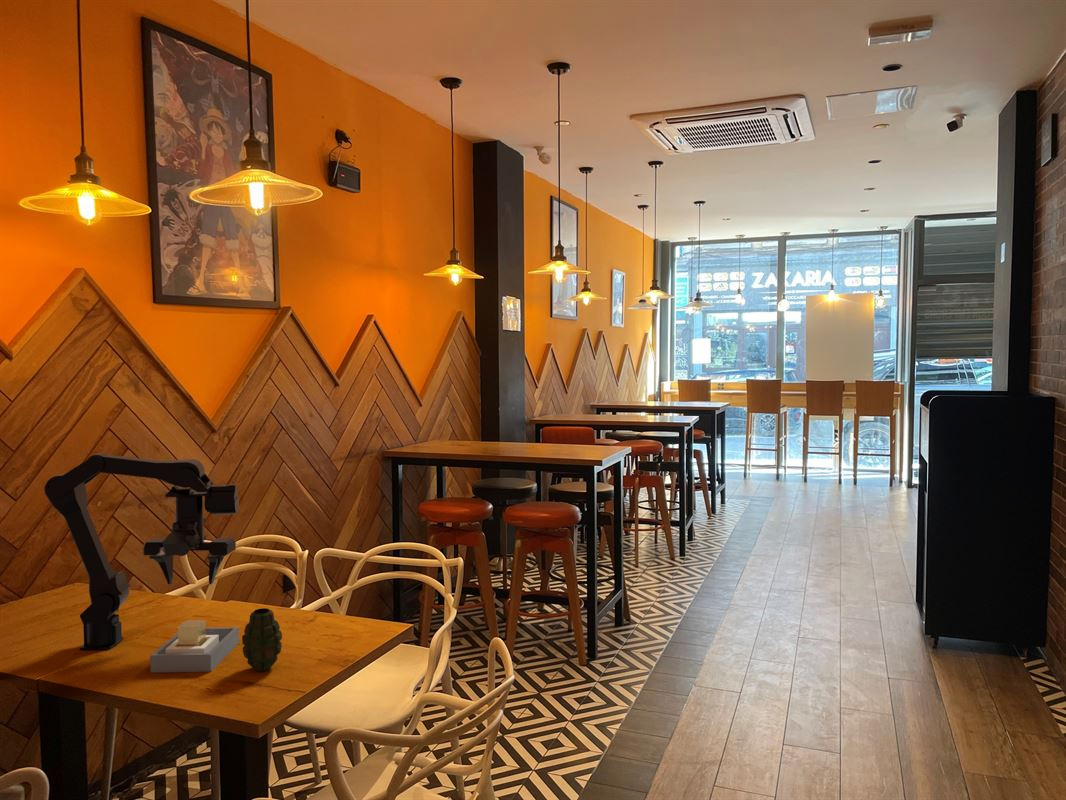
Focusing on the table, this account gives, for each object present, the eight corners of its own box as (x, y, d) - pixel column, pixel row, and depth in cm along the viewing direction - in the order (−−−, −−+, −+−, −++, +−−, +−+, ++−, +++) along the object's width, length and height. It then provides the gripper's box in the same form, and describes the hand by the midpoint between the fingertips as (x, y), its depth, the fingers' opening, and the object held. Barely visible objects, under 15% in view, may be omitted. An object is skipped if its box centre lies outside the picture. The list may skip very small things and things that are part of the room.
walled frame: (150, 672, 151) (150, 653, 151) (184, 643, 167) (184, 625, 167) (211, 671, 152) (210, 652, 151) (239, 642, 167) (238, 625, 167)
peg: (178, 664, 155) (177, 626, 155) (187, 657, 159) (186, 620, 159) (198, 664, 155) (197, 626, 155) (206, 657, 159) (205, 619, 159)
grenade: (251, 661, 157) (250, 604, 156) (288, 661, 157) (287, 604, 156) (235, 676, 149) (234, 616, 149) (274, 676, 149) (273, 617, 148)
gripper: (129, 523, 161) (130, 594, 162) (216, 523, 161) (217, 594, 162) (154, 513, 172) (155, 580, 173) (236, 513, 172) (237, 580, 173)
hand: (190, 584), depth 170 cm, fingers open, 9 cm apart
